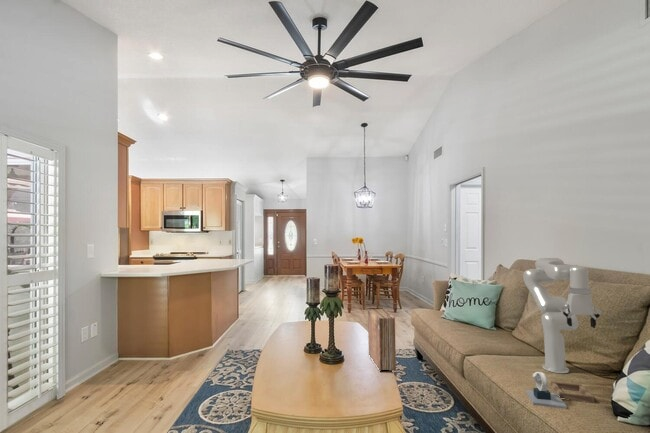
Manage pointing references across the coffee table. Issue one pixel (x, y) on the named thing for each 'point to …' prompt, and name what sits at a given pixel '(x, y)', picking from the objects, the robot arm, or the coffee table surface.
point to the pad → (554, 401)
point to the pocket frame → (586, 395)
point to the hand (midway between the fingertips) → (581, 326)
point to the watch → (541, 386)
